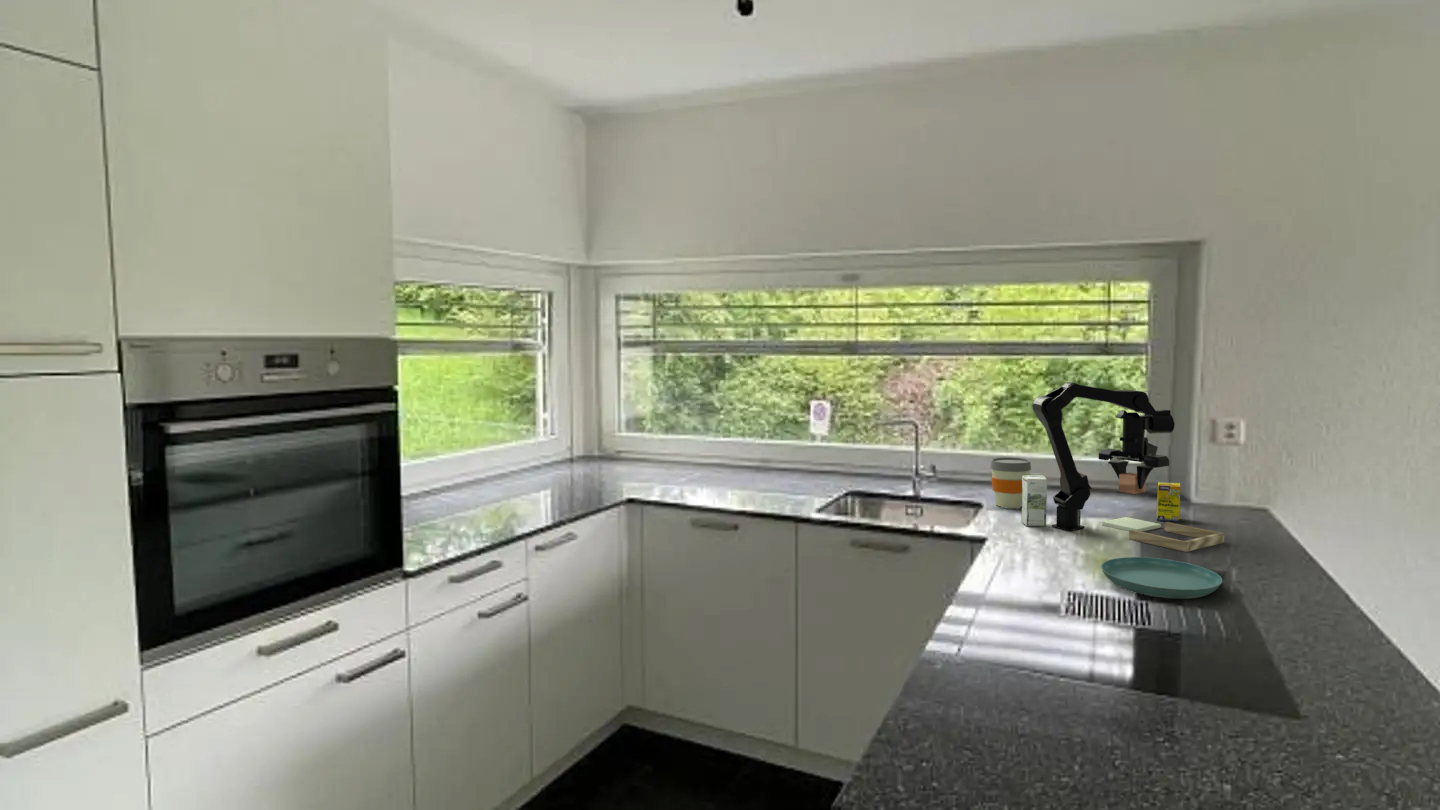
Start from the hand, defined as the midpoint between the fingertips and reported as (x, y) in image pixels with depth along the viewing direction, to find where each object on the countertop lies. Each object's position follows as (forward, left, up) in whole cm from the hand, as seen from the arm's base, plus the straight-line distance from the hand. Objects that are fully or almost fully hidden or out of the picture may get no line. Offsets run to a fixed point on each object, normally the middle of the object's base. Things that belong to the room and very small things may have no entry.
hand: (1132, 487), depth 241 cm
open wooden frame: (-5, -16, -12) cm, 20 cm away
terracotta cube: (0, 0, -1) cm, 1 cm away
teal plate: (-44, -37, -12) cm, 59 cm away
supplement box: (+16, -1, -12) cm, 20 cm away
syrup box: (-21, +17, -12) cm, 29 cm away
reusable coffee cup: (-6, +39, -12) cm, 41 cm away
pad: (0, 0, -12) cm, 12 cm away
